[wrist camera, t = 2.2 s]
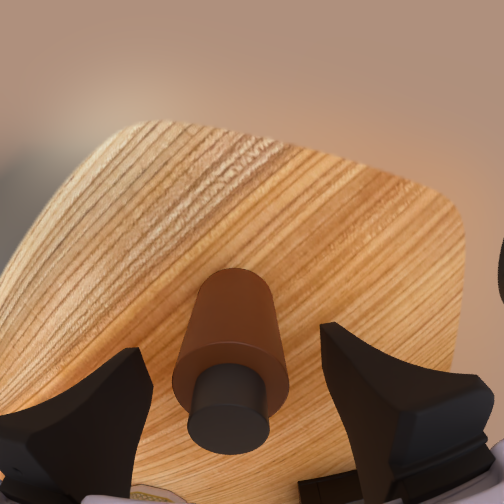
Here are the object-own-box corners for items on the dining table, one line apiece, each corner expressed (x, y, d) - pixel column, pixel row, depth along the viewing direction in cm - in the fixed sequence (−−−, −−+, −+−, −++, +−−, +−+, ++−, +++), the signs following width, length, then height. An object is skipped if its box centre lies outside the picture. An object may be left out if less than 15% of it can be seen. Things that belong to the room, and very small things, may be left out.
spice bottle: (273, 267, 16) (303, 379, 8) (272, 335, 17) (292, 466, 9) (194, 268, 16) (148, 379, 8) (200, 336, 17) (172, 465, 9)
